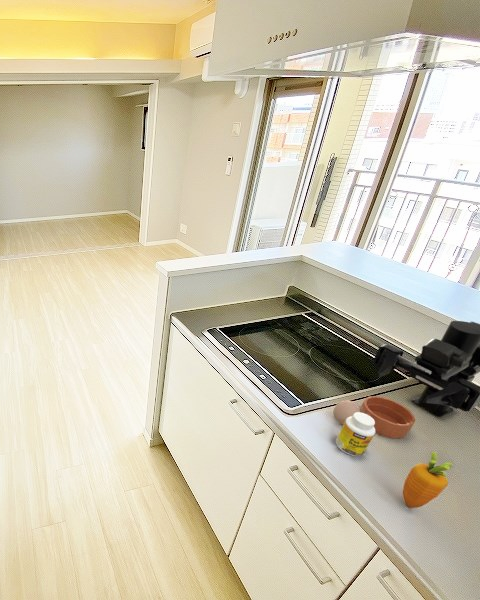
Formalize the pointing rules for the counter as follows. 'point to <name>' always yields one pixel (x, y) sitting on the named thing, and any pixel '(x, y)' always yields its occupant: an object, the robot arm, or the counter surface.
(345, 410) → the egg
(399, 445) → the counter surface
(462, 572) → the counter surface
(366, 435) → the supplement bottle
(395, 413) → the bowl
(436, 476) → the carrot
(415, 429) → the counter surface
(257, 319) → the counter surface
